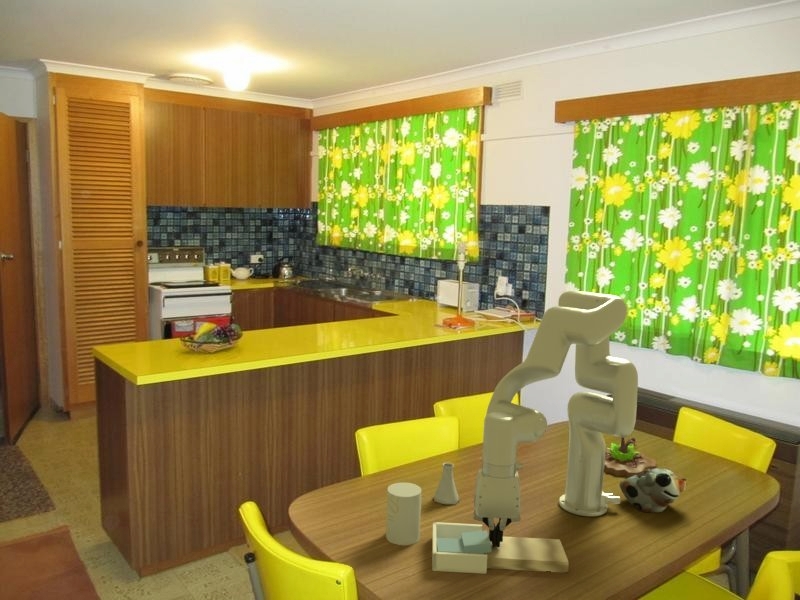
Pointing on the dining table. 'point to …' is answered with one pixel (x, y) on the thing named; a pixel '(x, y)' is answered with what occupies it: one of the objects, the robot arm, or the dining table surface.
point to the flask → (446, 487)
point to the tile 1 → (450, 545)
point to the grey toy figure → (653, 489)
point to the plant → (626, 460)
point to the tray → (456, 560)
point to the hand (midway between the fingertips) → (495, 543)
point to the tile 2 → (476, 542)
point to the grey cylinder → (403, 513)
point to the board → (528, 555)
